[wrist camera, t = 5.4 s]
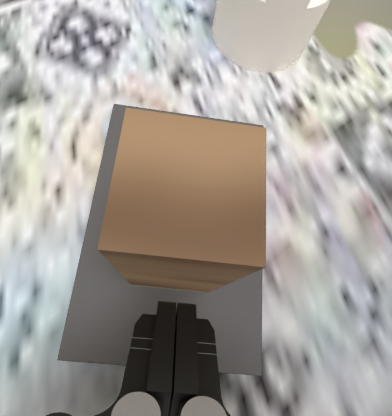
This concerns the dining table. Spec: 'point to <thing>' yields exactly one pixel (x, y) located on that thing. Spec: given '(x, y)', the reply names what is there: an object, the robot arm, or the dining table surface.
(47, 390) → the dining table surface
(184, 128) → the walnut block
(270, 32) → the cylinder with rectangular tab
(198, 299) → the rubber mat
